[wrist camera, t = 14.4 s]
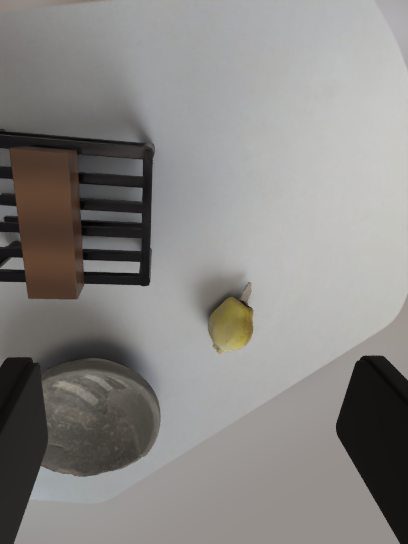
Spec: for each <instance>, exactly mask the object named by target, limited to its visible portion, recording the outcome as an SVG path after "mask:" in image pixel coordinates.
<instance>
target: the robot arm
mask: <svg viewBox="0 0 408 544" xmlns="http://www.w3.org/2000/svg"><path fill="white" fill-rule="evenodd" d="M336 432H337V435H338V437H339V439H340V441H341V442H342V444H343V446H344V447H345V449H346V451H347V453H348V455H349V456H350V458H351V460H352V462H353V463H354V465H355V467H356V468H357V470H358V472H359V474H360V475H361V477H362V478H363V480H364V482H365V484H366V486H367V487H368V489H369V491H370V493H371V494H372V496H373V498H374V499H375V501H376V503H377V504H378V506H379V508H380V510H381V511H382V513H383V515H384V517H385V518H386V520H387V522H388V523H389V525H390V527H391V529H392V530H393V532H394V534H395V536H396V537H397V539H398V541H399V542H400V544H408V380H407V379H406V378H405V377H404V376H403V375H402V374H401V373H400V372H399V371H398V370H397V369H396V368H395V367H394V366H393V365H392V364H391V363H390V362H389V361H388V360H387V359H386V358H385V357H383V356H363V357H361V358H360V360H359V361H357V362H356V364H355V366H354V370H353V373H352V376H351V379H350V382H349V385H348V388H347V391H346V395H345V398H344V401H343V404H342V407H341V410H340V414H339V417H338V420H337V423H336ZM47 444H48V429H47V420H46V412H45V404H44V396H43V388H42V379H41V371H40V365H39V363H33V360H32V358H30V357H16V358H7V359H6V360H5V361H4V362H3V364H2V365H1V367H0V544H14V541H15V538H16V535H17V532H18V530H19V527H20V524H21V521H22V518H23V515H24V512H25V509H26V507H27V503H28V501H29V498H30V495H31V492H32V489H33V486H34V483H35V481H36V478H37V475H38V472H39V469H40V466H41V463H42V460H43V458H44V455H45V452H46V449H47Z"/></svg>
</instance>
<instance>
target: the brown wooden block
mask: <svg viewBox="0 0 408 544" xmlns="http://www.w3.org/2000/svg"><path fill="white" fill-rule="evenodd" d="M9 150H10V158H11V165H12V173H13V181H14V189H15V197H16V205H17V213H18V221H19V229H20V237H21V245H22V253H23V261H24V269H25V277H26V284H27V292H28V298H29V299H78V297H79V295H80V293H81V290H82V288H83V286H84V269H83V250H82V232H81V213H80V195H79V176H78V157H77V150H67V149H55V148H42V147H30V146H22V147H15V148H10V149H9Z"/></svg>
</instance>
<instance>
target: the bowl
mask: <svg viewBox="0 0 408 544" xmlns="http://www.w3.org/2000/svg"><path fill="white" fill-rule="evenodd" d="M41 379H42V388H43V396H44V404H45V412H46V420H47V429H48V444H47V449H46V452H45V455H44V458H43V460H42V463H41V466H43V467H45V468H47V469H50V470H52V471H54V472H59V473H62V474H72V475H74V476H79V477H86V476H93V475H98V474H100V473H103V472H108V471H115V470H117V469H122V468H124V467H126V466H128V465H130V464H132V463H134V462H136V461H138V460H139V459H140V458H141V457H144V456H145V455H147V454H148V452H149V451H150V449H151V448H152V446H153V445H154V443H155V441H156V438H157V436H158V432H159V427H160V407H159V403H158V399H157V397H156V395H155V393H154V391H153V389H152V388H151V386H150V385H149V384H148V383H147V381H146V380H144V379H143V378H142V377H141V376H140V375H139V374H138V373H136V372H135V371H133V370H131V369H129V368H127V367H125V366H123V365H120V364H117V363H115V362H112V361H109V360H105V359H99V358H87V359H80V360H75V361H70V362H66V363H63V364H60V365H57V366H53V367H52V368H49V369H47V370H46V371H45V372H44V373H43V374H41Z"/></svg>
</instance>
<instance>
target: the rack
mask: <svg viewBox="0 0 408 544" xmlns="http://www.w3.org/2000/svg"><path fill="white" fill-rule="evenodd" d="M22 146H30V147H42V148H55V149H67V150H77V154H82V155H94V156H107V157H119V158H132V159H143V176H129V175H115V174H101V173H87V172H78V176H79V184H94V185H109V186H124V187H138V188H143V198H142V202H139V201H123V200H107V199H90V198H80V210H96V211H114V212H132V213H142V223H137V222H118V221H99V220H81V232H82V235H83V236H105V237H127V238H142V251H123V250H99V249H82V250H83V260H103V261H131V262H140V269H139V273H109V272H84V284H116V285H141V286H147V285H149V283H150V277H151V257H152V249H151V248H150V238H151V202H152V165H153V156H154V151H155V146H154V144H153V143H151V142H147V143H137V142H126V141H114V140H103V139H91V138H79V137H68V136H56V135H45V134H33V133H22V132H10V131H5V130H3V129H0V148H6V149H10V148H15V147H22ZM0 178H5V179H13V173H12V167H4V166H0ZM0 205H8V206H17V205H16V197H15V194H9V193H2V194H1V195H0ZM4 221H5V222H0V232H17V233H20V229H19V221H18V216H5V217H4ZM12 257H18V258H23V253H22V245H21V243H20V242H19V241H13V242H12V243H10V244H9V245H8V246H5V247H0V268H1V267H2V266H3V265H4V264H5V263H6V262H7V261H8V260H10V259H11V258H12ZM0 282H26V277H25V270H11V269H0Z"/></svg>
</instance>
